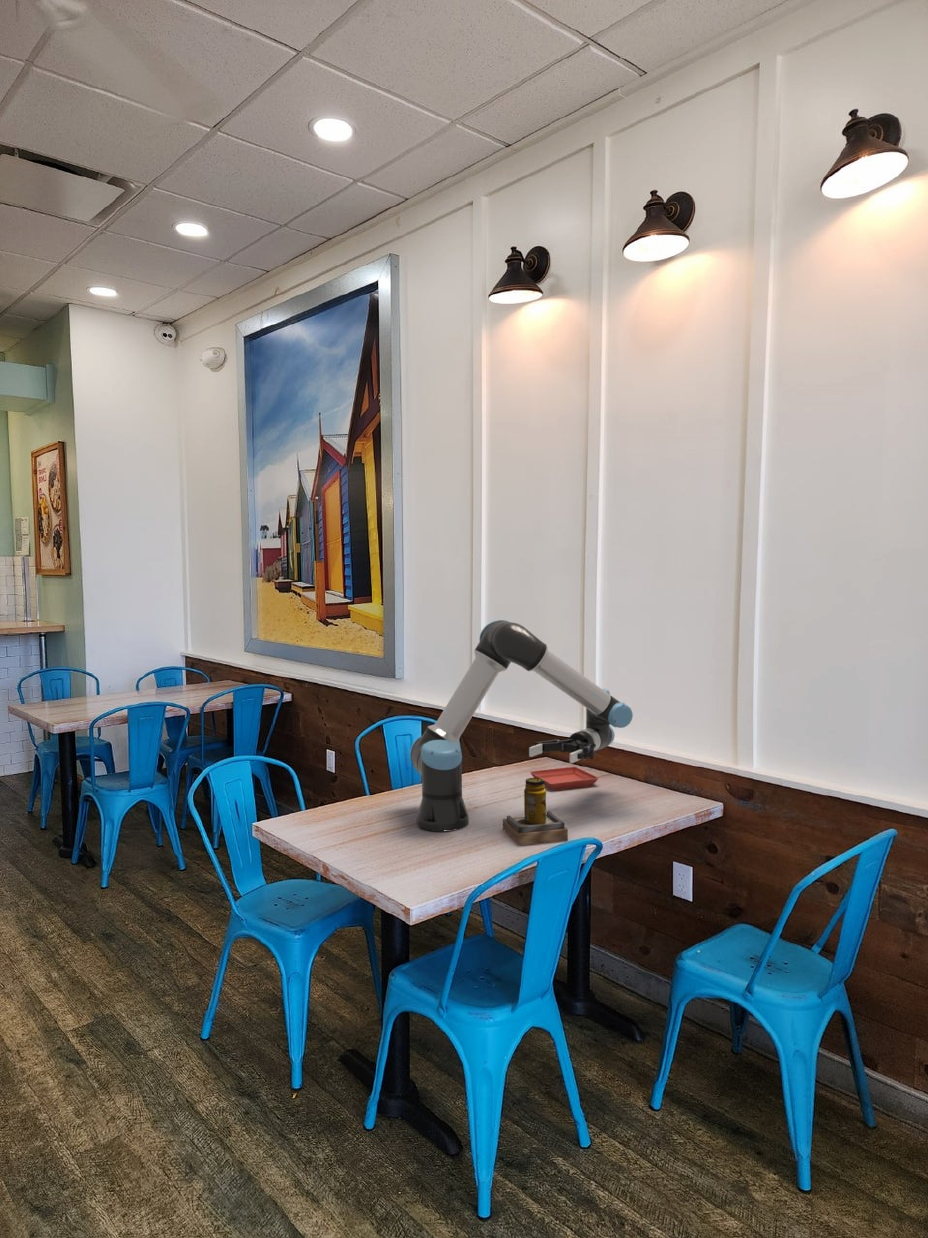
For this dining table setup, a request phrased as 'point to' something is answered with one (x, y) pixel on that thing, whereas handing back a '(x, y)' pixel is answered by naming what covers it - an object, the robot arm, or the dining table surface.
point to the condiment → (534, 803)
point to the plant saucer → (565, 778)
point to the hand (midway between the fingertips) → (550, 755)
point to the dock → (536, 830)
